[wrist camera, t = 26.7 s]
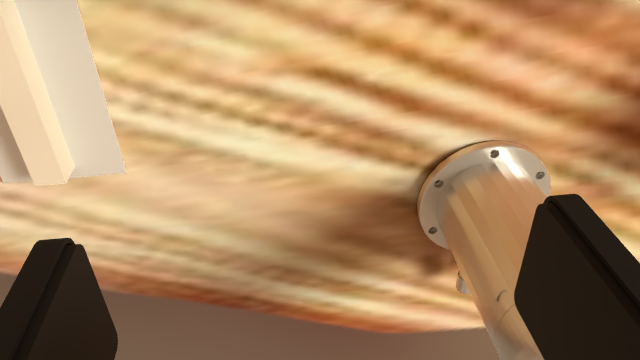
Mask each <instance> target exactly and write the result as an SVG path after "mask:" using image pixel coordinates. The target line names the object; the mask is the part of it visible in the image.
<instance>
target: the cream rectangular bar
mask: <svg viewBox="0 0 640 360" xmlns="http://www.w3.org/2000/svg"><path fill="white" fill-rule="evenodd" d="M0 106H1V108H2V110H3V113H4V115H5V117H6V120H7V122H8V124H9V127H10V129H11V131H12V134H13V136H14V138H15V141H16V143H17V145H18V148H19V150H20V152H21V155H22V157H23V159H24V162H25V164H26V166H27V169H28V171H29V173H30V176H31V178H32V180H33V183H34V185H35V186H43V185H55V184H66V183H67V181H68V179H69V177H70V175H71V174H72V172H73V170H74V168H75V166H74V163H73V161H72V158H71V155H70V152H69V150H68V147H67V144H66V141H65V139H64V136H63V133H62V130H61V128H60V125H59V122H58V119H57V117H56V114H55V111H54V108H53V106H52V103H51V100H50V98H49V95H48V92H47V89H46V87H45V84H44V81H43V78H42V76H41V73H40V70H39V67H38V65H37V62H36V59H35V56H34V54H33V51H32V48H31V45H30V43H29V40H28V37H27V34H26V32H25V29H24V26H23V24H22V21H21V18H20V15H19V13H18V10H17V7H16V4H15V2H14V0H0Z"/></svg>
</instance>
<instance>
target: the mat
mask: <svg viewBox="0 0 640 360" xmlns="http://www.w3.org/2000/svg"><path fill="white" fill-rule="evenodd" d="M14 2H15V4H16V7H17V10H18V13H19V15H20V18H21V21H22V24H23V26H24V29H25V32H26V34H27V37H28V40H29V43H30V45H31V48H32V51H33V54H34V56H35V59H36V62H37V65H38V67H39V70H40V73H41V76H42V78H43V81H44V84H45V87H46V89H47V92H48V95H49V98H50V100H51V103H52V106H53V108H54V111H55V114H56V117H57V119H58V122H59V125H60V128H61V130H62V133H63V136H64V139H65V141H66V144H67V147H68V150H69V152H70V155H71V158H72V161H73V163H74V166H75V168H74V170H73V172H72V174H71V175H70V177H69V178H76V177H89V176H102V175H114V174H126V167H125V164H124V160H123V157H122V153H121V150H120V147H119V143H118V140H117V136H116V133H115V129H114V126H113V123H112V119H111V116H110V112H109V109H108V105H107V102H106V99H105V95H104V92H103V88H102V85H101V81H100V78H99V75H98V71H97V68H96V64H95V61H94V57H93V54H92V51H91V47H90V44H89V40H88V37H87V33H86V30H85V26H84V23H83V20H82V16H81V13H80V9H79V6H78V2H77V0H14ZM0 176H1V179H2V181H3V183H13V182H26V181H33V180H32V178H31V176H30V173H29V171H28V169H27V166H26V164H25V162H24V159H23V157H22V155H21V152H20V150H19V148H18V145H17V143H16V141H15V138H14V136H13V134H12V131H11V129H10V127H9V124H8V122H7V120H6V117H5V115H4V113H3V110H2V108H1V106H0Z"/></svg>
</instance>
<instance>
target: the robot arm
mask: <svg viewBox="0 0 640 360" xmlns="http://www.w3.org/2000/svg"><path fill="white" fill-rule="evenodd" d="M550 189H551V185H550V176H549V173H548V170H547V168H546V167H545V165H544V164H543V162H542V161H541V160H540V159H539V157H538V156H537V155H536V154H535V153H534V152H532V151H531V150H529V149H528V148H526V147H525V146H522V145H519V144H516V143H513V142H506V141H488V142H483V143H478V144H474V145H472V146H469V147H466V148H464V149H461V150H460V151H458V152H456V153H454V154H452V155H450V156H449V157H448V158H447V159H445V160H444V161H443V162H441V163H440V164H439V165H438V166H437V167H436V168H435V169H434V170H433V171H432V172H431V173H430V175H429V176H428V178H427V179H426V181H425V182H424V184H423V186H422V188H421V191H420V193H419V197H418V202H417V214H418V218H419V221H420V224H421V226H422V228H423V230H424V232H425V234H426V235H427V236H428V238H429V239H430V240H431V241H433V242H434V243H435V244H436V245H438V246H440V247H442V248H444V249H447V250H450V251H451V253H452V255H453V257H454V259H455V261H456V264H457V266H458V268H459V272H458V277H457V283H456V288H457V290H458V291H459V292H461V293H463V294H471V296H472V298H473V300H474V303H475V305H476V307H477V309H478V311H479V313H480V316H481V318H482V320H483V322H484V324H485V326H486V329H487V331H488V333H489V335H490V337H491V339H492V342H493V344H494V346H495V348H496V350H497V352H498V354H499V356H500V358H501V360H640V263H639V262H638V261H637V260H636V259H635V257H634V256H633V255H632V254H631V253H630V252H629V251H628V249H627V248H626V247H625V246H624V245H623V244H622V243H621V242H620V240H619V239H618V238H617V237H616V236H615V235H614V234H613V233H612V231H611V230H610V229H609V228H608V227H607V226H606V225H605V223H604V222H603V221H602V220H601V219H600V218H599V217H598V216H597V214H596V213H595V212H594V211H593V210H592V209H591V208H590V207H589V205H588V204H587V203H586V202H585V201H584V200H583V199H582V198H581V197H580V196H579V195H577V194H567V195H556V196H549V195H550ZM117 344H118V338H117V332H116V329H115V327H114V324H113V322H112V319H111V316H110V314H109V311H108V309H107V306H106V303H105V301H104V298H103V296H102V293H101V290H100V288H99V285H98V283H97V280H96V278H95V275H94V272H93V270H92V267H91V265H90V262H89V259H88V257H87V254H86V252H85V249H84V247H83V246H82V245H81V244H76V245H75V243H74V242H73V240H72V239H71V238H61V239H49V240H39V241H38V242H36V244H35V245H34V246H33V248H32V250H31V252H30V254H29V256H28V257H27V259H26V261H25V263H24V265H23V267H22V269H21V271H20V272H19V274H18V276H17V278H16V280H15V282H14V284H13V286H12V287H11V289H10V291H9V293H8V295H7V297H6V298H5V300H4V302H3V304H2V306H1V308H0V360H114V358H115V354H116V351H117Z"/></svg>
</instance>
